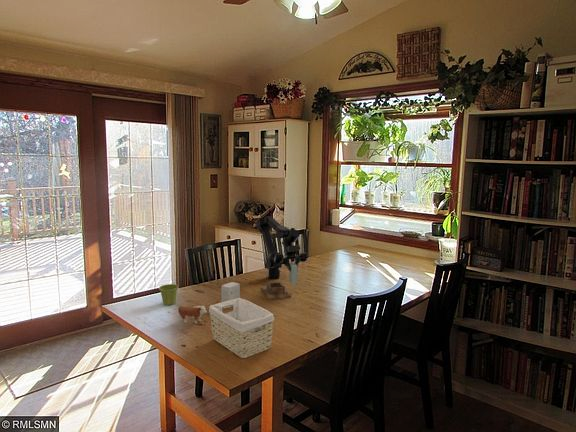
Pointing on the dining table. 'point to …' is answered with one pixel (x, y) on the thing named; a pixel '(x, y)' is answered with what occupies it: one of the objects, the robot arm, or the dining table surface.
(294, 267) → the pale blue rectangular block
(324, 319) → the dining table surface
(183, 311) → the bull figurine
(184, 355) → the dining table surface
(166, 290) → the plant pot
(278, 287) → the board
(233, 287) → the small box
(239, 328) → the storage basket
